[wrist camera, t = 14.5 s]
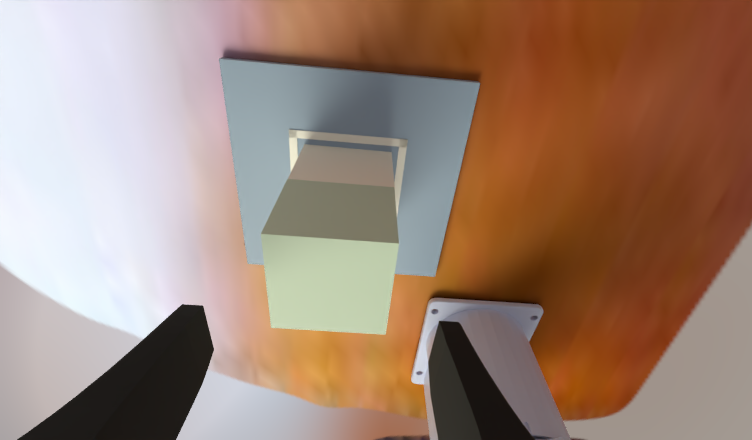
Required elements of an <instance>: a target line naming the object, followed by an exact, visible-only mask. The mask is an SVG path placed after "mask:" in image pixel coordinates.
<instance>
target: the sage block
mask: <svg viewBox="0 0 752 440" xmlns="http://www.w3.org/2000/svg"><path fill="white" fill-rule="evenodd" d="M261 241H262V250H263V259H264V268H265V277H266V286H267V295H268V304H269V313H270V322H271V328H284V329H301V330H317V331H334V332H351V333H368V334H385V335H386V328H387V322H388V315H389V308H390V302H391V295H392V288H393V281H394V275H395V268H396V261H397V254H398V248H399V236H398V225H397V213H396V201H395V190H394V187H385V186H372V185H359V184H346V183H333V182H320V181H307V180H294V179H287V181H286V183H285V185H284V187H283V189H282V191H281V193H280V195H279V197H278V199H277V201H276V203H275V205H274V207H273V210H272V212H271V214H270V216H269V218H268V220H267V222H266V224H265V226H264V228H263V230H262V232H261Z"/></svg>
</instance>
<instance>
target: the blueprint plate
mask: <svg viewBox="0 0 752 440" xmlns="http://www.w3.org/2000/svg"><path fill="white" fill-rule="evenodd" d="M219 62H220V69H221V77H222V84H223V91H224V98H225V105H226V112H227V119H228V126H229V134H230V141H231V148H232V155H233V162H234V169H235V176H236V183H237V191H238V198H239V205H240V212H241V219H242V226H243V233H244V241H245V248H246V255H247V262H248V264H259V265H264V259H263V250H262V241H261V232H262V230H263V228H264V226H265V224H266V222H267V220H268V218H269V216H270V214H271V212H272V210H273V207H274V205H275V203H276V201H277V199H278V197H279V195H280V193H281V191H282V189H283V187H284V185H285V183H286V181H287V179H288V177H289V175H290V173H291V171H292V169H293V167H294V165H295V163H296V161H297V158H298V156H299V154H300V152H301V150H302V148H303V146H304V144H309V145H320V146H331V147H342V148H353V149H363V150H374V151H385V152H392V162H393V173H394V185H395V201H396V213H397V225H398V236H399V248H398V254H397V261H396V268H395V274H404V275H419V276H433V277H435V274H436V270H437V266H438V262H439V257H440V253H441V249H442V245H443V240H444V236H445V232H446V228H447V223H448V219H449V215H450V210H451V206H452V202H453V198H454V193H455V189H456V185H457V181H458V176H459V172H460V168H461V164H462V159H463V155H464V151H465V146H466V142H467V138H468V134H469V129H470V125H471V121H472V117H473V112H474V108H475V104H476V100H477V95H478V91H479V87H480V82H478V81H469V80H459V79H448V78H437V77H427V76H416V75H405V74H394V73H384V72H373V71H362V70H352V69H341V68H330V67H320V66H309V65H298V64H288V63H277V62H266V61H255V60H245V59H234V58H223V57H222V58H220V59H219Z"/></svg>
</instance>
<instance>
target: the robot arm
mask: <svg viewBox="0 0 752 440" xmlns="http://www.w3.org/2000/svg"><path fill="white" fill-rule="evenodd" d="M433 309H436V310H433ZM542 314H543V309H542V307H541V306H540V305H538V304H525V303H510V302H495V301H480V300H465V299H450V298H432V299H430V300H429V302H428V306H427V310H426V314H425V319H424V323H423V327H422V332H421V336H420V340H419V345H418V349H417V353H416V357H415V362H414V366H413V370H412V375H411V381H412V382H413V383H415V384H424V392H425V400H426V409H427V417H428V425H429V434H430V440H571V439H570V436H569V434H568V432H567V430H566V427H565V425H564V422H563V420H562V418H561V416H560V413H559V411H558V409H557V406H556V404H555V402H554V399H553V397H552V395H551V392H550V390H549V388H548V385H547V383H546V381H545V378H544V376H543V374H542V372H541V369H540V367H539V365H538V362H537V360H536V358H535V355H534V353H533V351H532V348H531V346H530V344H529V341H530V339H531V337H532V335H533V333H534V331H535V329H536V327H537V325H538V323H539V320H540V318H541V316H542ZM213 351H214V348H213V344H212V340H211V336H210V332H209V328H208V324H207V320H206V316H205V312H204V308H203V306H199V305H184V304H182V305H181V306H180V307H179V308H178V309H177V310H175V311H174V312H173V313H172V314H171V315H170V316H169V317H168V318H167V319H165V320H164V321H163V322H162V323H161V324H160V325H159V326H158V327H157V328H156V329H154V330H153V331H152V332H151V333H150V334H149V335H148V336H147V337H146V338H144V339H143V340H142V341H141V342H140V343H139V344H138V345H137V346H136V347H134V348H133V349H132V350H131V351H130V352H129V353H128V354H126V355H125V356H124V357H123V358H122V359H121V360H119V361H118V362H117V363H116V364H115V365H114V366H113V367H111V368H110V369H109V370H108V371H107V372H105V373H104V374H103V375H102V376H100V377H99V378H98V379H97V380H96V381H94V382H93V383H92V384H91V385H89V386H88V387H87V388H86V389H85V390H84V391H82V392H81V393H80V394H79V395H77V396H76V397H75V398H73V399H72V400H71V401H69V402H68V403H67V404H65V405H64V406H63V407H62V408H61V409H59V410H58V411H56V412H55V413H54V414H52V415H51V416H50V417H48V418H47V419H46V420H44V421H43V422H41V423H40V424H39V425H37V426H36V427H34V428H33V429H32V430H31V431H29V432H28V433H26V434H25V435H23V436H22V437H20V438H19V439H17V440H176V438H177V436H178V434H179V432H180V430H181V428H182V426H183V424H184V422H185V420H186V417H187V415H188V413H189V411H190V409H191V407H192V405H193V403H194V400H195V398H196V396H197V394H198V392H199V390H200V388H201V385H202V383H203V380H204V378H205V375H206V372H207V369H208V366H209V363H210V360H211V357H212V354H213Z"/></svg>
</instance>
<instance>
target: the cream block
mask: <svg viewBox="0 0 752 440" xmlns="http://www.w3.org/2000/svg"><path fill="white" fill-rule="evenodd" d="M288 179H294V180H307V181H320V182H333V183H346V184H359V185H372V186H385V187H394V190H395V185H394V173H393V162H392V152H385V151H374V150H363V149H353V148H342V147H331V146H320V145H309V144H304V146H303V148H302V150H301V152H300V154H299V156H298V158H297V161H296V163H295V165H294V167H293V169H292V171H291V173H290V175H289V177H288Z"/></svg>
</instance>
